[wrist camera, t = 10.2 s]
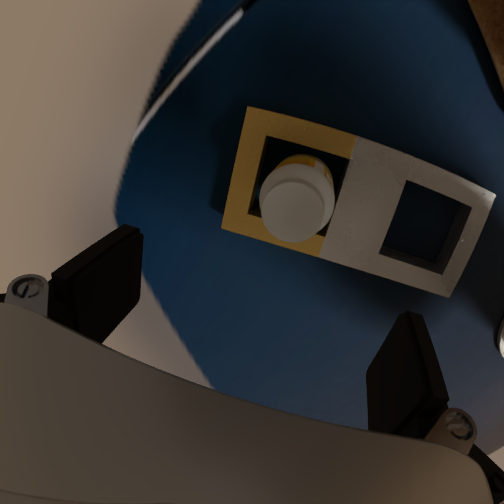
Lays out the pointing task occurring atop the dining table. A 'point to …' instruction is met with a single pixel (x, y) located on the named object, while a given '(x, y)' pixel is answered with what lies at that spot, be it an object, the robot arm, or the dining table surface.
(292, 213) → the supplement bottle
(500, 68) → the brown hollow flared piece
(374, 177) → the holder
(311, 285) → the dining table surface
